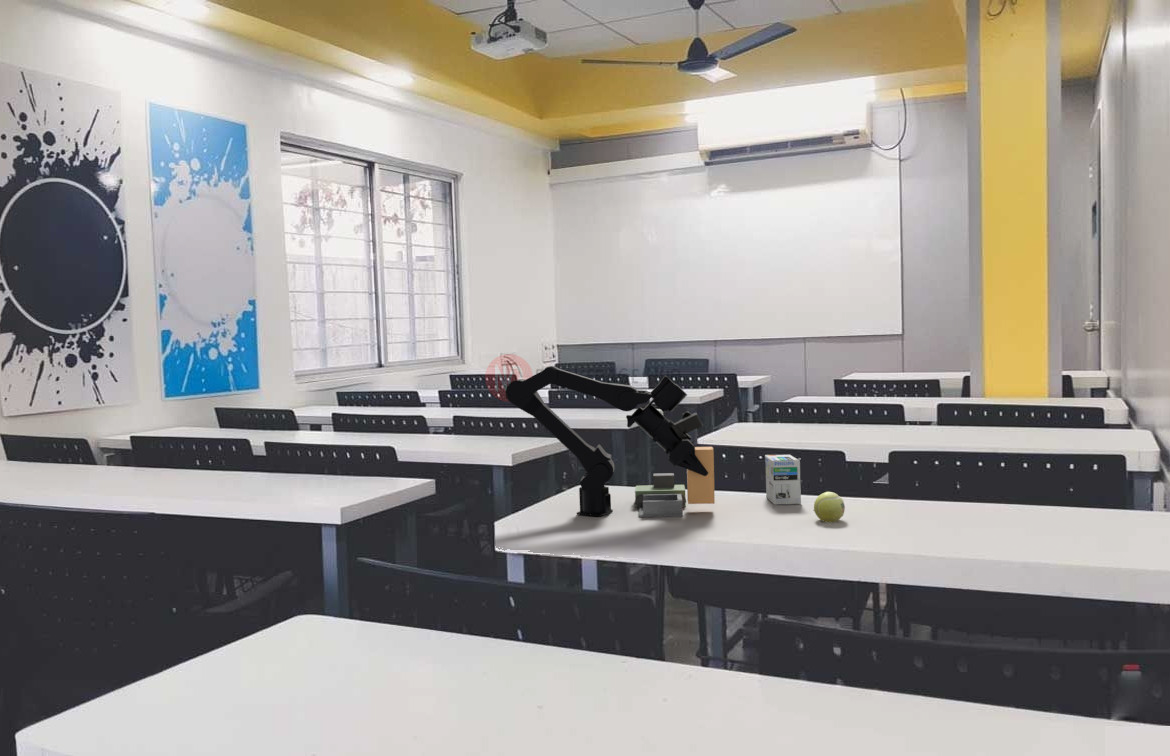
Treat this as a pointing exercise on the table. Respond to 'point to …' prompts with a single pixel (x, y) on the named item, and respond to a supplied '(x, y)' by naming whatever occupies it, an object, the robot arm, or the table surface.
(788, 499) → the light bulb box
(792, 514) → the table surface
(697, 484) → the tan rectangular block
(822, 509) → the tennis ball
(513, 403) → the robot arm
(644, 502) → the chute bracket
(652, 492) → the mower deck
